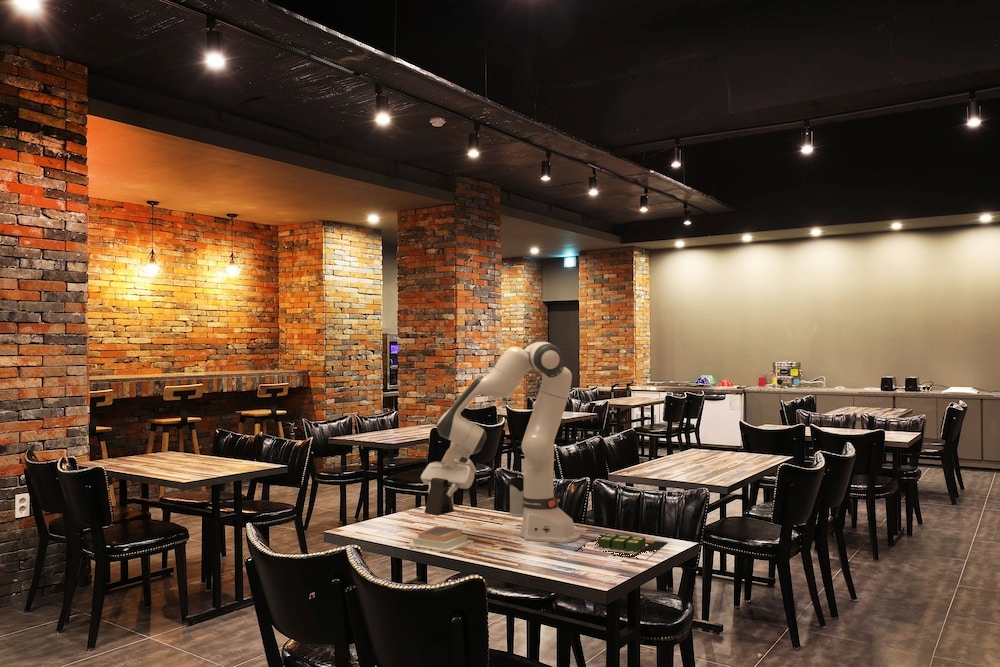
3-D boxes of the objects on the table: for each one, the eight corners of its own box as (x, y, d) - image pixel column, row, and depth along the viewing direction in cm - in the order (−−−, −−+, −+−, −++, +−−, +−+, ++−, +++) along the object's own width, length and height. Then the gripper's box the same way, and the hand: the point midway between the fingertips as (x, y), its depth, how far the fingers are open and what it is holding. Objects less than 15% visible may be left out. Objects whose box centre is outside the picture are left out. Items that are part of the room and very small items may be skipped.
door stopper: (442, 509, 268) (442, 476, 268) (454, 511, 264) (454, 478, 264) (424, 513, 261) (424, 479, 261) (436, 515, 257) (436, 481, 257)
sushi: (667, 544, 261) (667, 534, 261) (645, 562, 239) (645, 550, 239) (601, 537, 273) (601, 526, 273) (574, 553, 251) (574, 542, 251)
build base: (473, 541, 264) (473, 528, 265) (448, 552, 251) (448, 538, 251) (432, 536, 273) (432, 523, 274) (406, 545, 260) (406, 532, 260)
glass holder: (504, 514, 310) (504, 478, 311) (532, 510, 318) (531, 475, 319) (516, 517, 303) (516, 481, 304) (544, 513, 311) (544, 477, 311)
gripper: (427, 455, 274) (411, 486, 265) (474, 460, 264) (459, 492, 255) (433, 466, 278) (418, 496, 269) (480, 470, 268) (465, 502, 259)
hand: (438, 494), depth 262 cm, fingers closed on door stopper, 6 cm apart
